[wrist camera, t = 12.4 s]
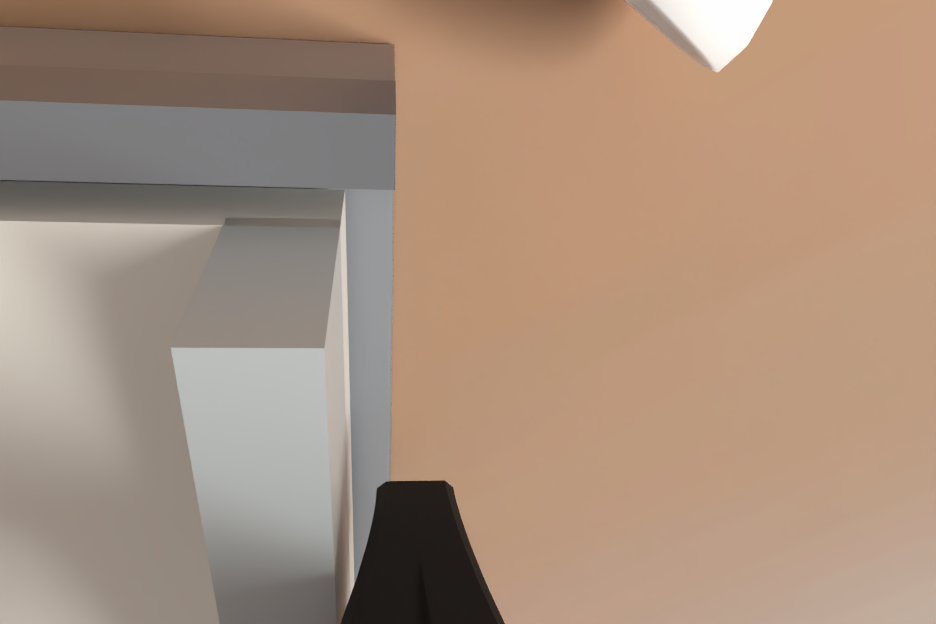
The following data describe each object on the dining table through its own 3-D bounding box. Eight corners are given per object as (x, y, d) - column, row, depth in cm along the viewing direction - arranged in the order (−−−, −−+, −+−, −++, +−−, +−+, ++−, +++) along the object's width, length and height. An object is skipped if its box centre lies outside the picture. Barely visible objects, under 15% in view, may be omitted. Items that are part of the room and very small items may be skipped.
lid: (355, 626, 13) (346, 831, 10) (-140, 644, 12) (-290, 872, 10) (345, 190, 9) (324, 349, 6) (-425, 169, 8) (-841, 343, 5)
